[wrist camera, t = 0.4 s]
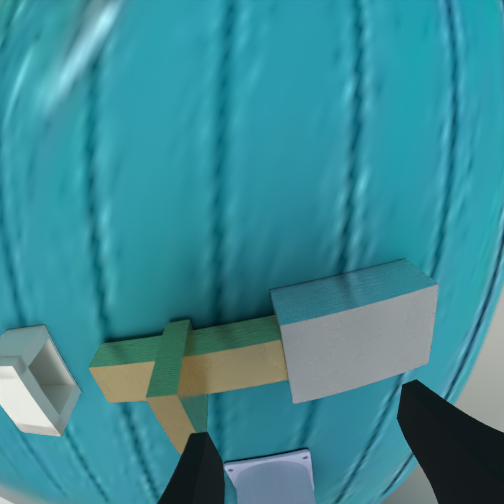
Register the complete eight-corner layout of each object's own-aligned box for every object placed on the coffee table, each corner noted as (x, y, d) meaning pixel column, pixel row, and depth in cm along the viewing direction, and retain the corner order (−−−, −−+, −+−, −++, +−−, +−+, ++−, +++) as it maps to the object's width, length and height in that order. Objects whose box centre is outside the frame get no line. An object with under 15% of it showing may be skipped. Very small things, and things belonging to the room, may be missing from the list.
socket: (81, 391, 21) (61, 436, 16) (43, 391, 21) (21, 431, 16) (44, 324, 19) (12, 366, 14) (7, 329, 19) (-25, 366, 14)
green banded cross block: (400, 330, 20) (445, 388, 14) (122, 385, 20) (100, 454, 14) (402, 272, 19) (461, 322, 13) (96, 333, 18) (59, 400, 12)
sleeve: (402, 331, 21) (428, 363, 17) (282, 363, 21) (293, 404, 17) (404, 258, 19) (438, 284, 15) (269, 289, 19) (280, 325, 15)
